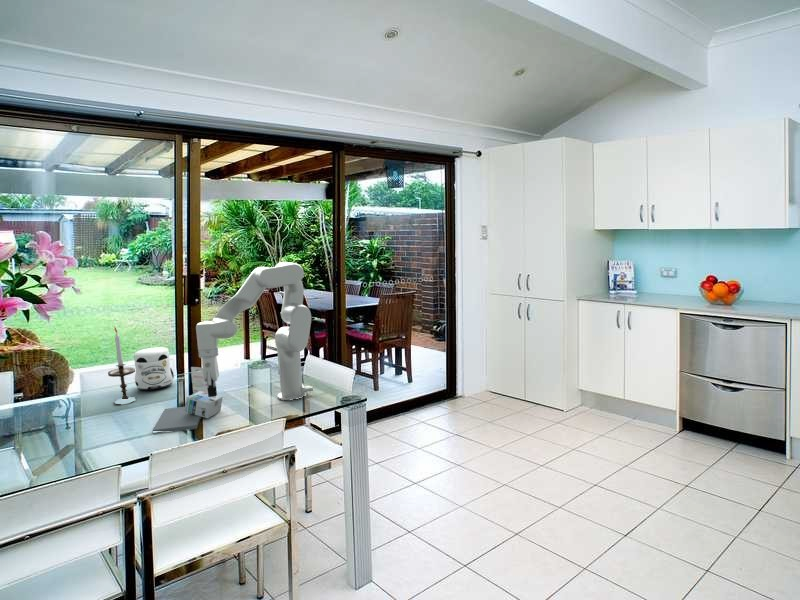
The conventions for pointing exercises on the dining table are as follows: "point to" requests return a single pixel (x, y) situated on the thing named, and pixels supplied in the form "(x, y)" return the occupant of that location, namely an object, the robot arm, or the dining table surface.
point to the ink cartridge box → (198, 380)
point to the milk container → (153, 368)
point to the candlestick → (120, 367)
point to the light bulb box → (203, 404)
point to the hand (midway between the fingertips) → (212, 395)
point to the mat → (176, 420)
